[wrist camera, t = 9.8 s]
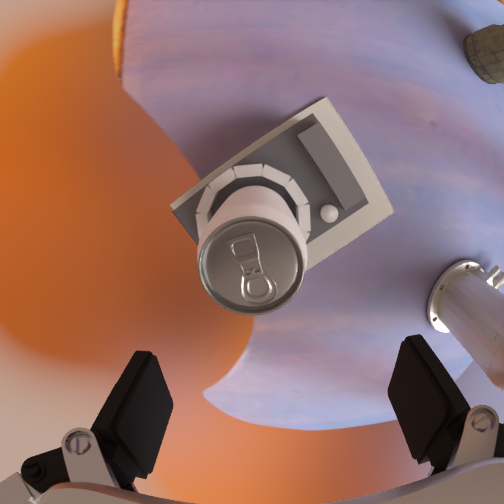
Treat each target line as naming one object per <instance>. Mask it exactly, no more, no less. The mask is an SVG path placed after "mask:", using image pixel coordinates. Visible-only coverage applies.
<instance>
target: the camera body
mask: <svg viewBox="0 0 504 504" xmlns="http://www.w3.org/2000/svg"><path fill="white" fill-rule="evenodd" d="M252 185H258V186H264V187H267V188H270V189H272V190H274V191H275V192H277V193H278V194H279V195H280V196H281V197H282V198H283V199H284V200H285V202H286V203H287V205H288V207H289V209H290V210H291V212H292V214H293V216H294V217H295V219H296V221H297V223H298V225H299V227H300V229H301V231H302V233H303V236H304V238H305V241H306V244H308V243H310V242H311V241H313V240H314V239H316V238H317V237H319V236H320V235H322V234H323V233H325V232H326V231H328V230H329V229H331V228H332V227H334V226H335V225H337V224H338V223H340V222H341V221H343V220H344V219H346V218H347V217H349V216H350V215H352V214H353V213H355V212H356V211H358V210H359V209H361V208H362V207H364V206H365V205H367V204H368V203H369V202H368V200H367V199H366V196H365V194H364V192H363V190H362V189H361V187H360V185H359V183H358V182H357V180H356V178H355V176H354V175H353V173H352V171H351V170H350V168H349V166H348V165H347V163H346V161H345V160H344V158H343V157H342V155H341V153H340V152H339V150H338V149H337V147H336V146H335V144H334V142H333V141H332V139H331V138H330V136H329V135H328V133H327V132H326V130H325V129H324V127H323V126H322V125H321V123H320V122H319V121H318V120H317V118H316V117H315V115H314V114H313V113H312V114H310V115H308V116H307V117H305V118H304V119H302V120H300V121H299V122H297V123H296V124H294V125H292V126H291V127H289V128H288V129H286V130H285V131H283V132H281V133H280V134H278V135H277V136H275V137H274V138H272V139H271V140H269V141H268V142H266V143H265V144H263V145H262V146H260V147H259V148H257V149H256V150H254V151H253V152H251V153H250V154H249V155H247V156H246V157H244V158H243V159H241V160H240V161H239V162H237V163H236V164H234V165H233V166H232V167H230V168H229V169H227V170H226V171H225V172H223V173H222V174H220V175H219V176H218V177H216V178H215V179H214V180H212V181H211V182H210V183H208V184H207V185H206V186H204V187H203V188H202V189H200V190H199V191H198V192H196V193H195V194H194V195H193V196H191V197H190V198H189V199H187V200H186V201H185V202H184V203H182V204H181V205H180V206H179V207H177V208H176V209H175V210H173V211H172V212H173V214H174V215H175V216H176V218H177V219H178V220H179V222H180V223H181V224H182V226H183V227H184V228H185V229H186V231H187V232H188V233H189V235H190V236H191V237H192V239H193V240H194V241H195V242H196V243H197V245H198V244H199V240H200V237H201V235H202V232H203V230H204V229H205V227H206V225H207V224H208V222H209V221H210V220H211V218H212V217H213V216H214V214H215V213H216V212H217V211H218V209H219V208H220V207H221V205H222V204H223V203H224V202H225V201H226V199H227V198H228V197H229V196H230V195H231V194H232V193H234V192H235V191H237V190H238V189H241V188H243V187H246V186H252Z"/></svg>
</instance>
